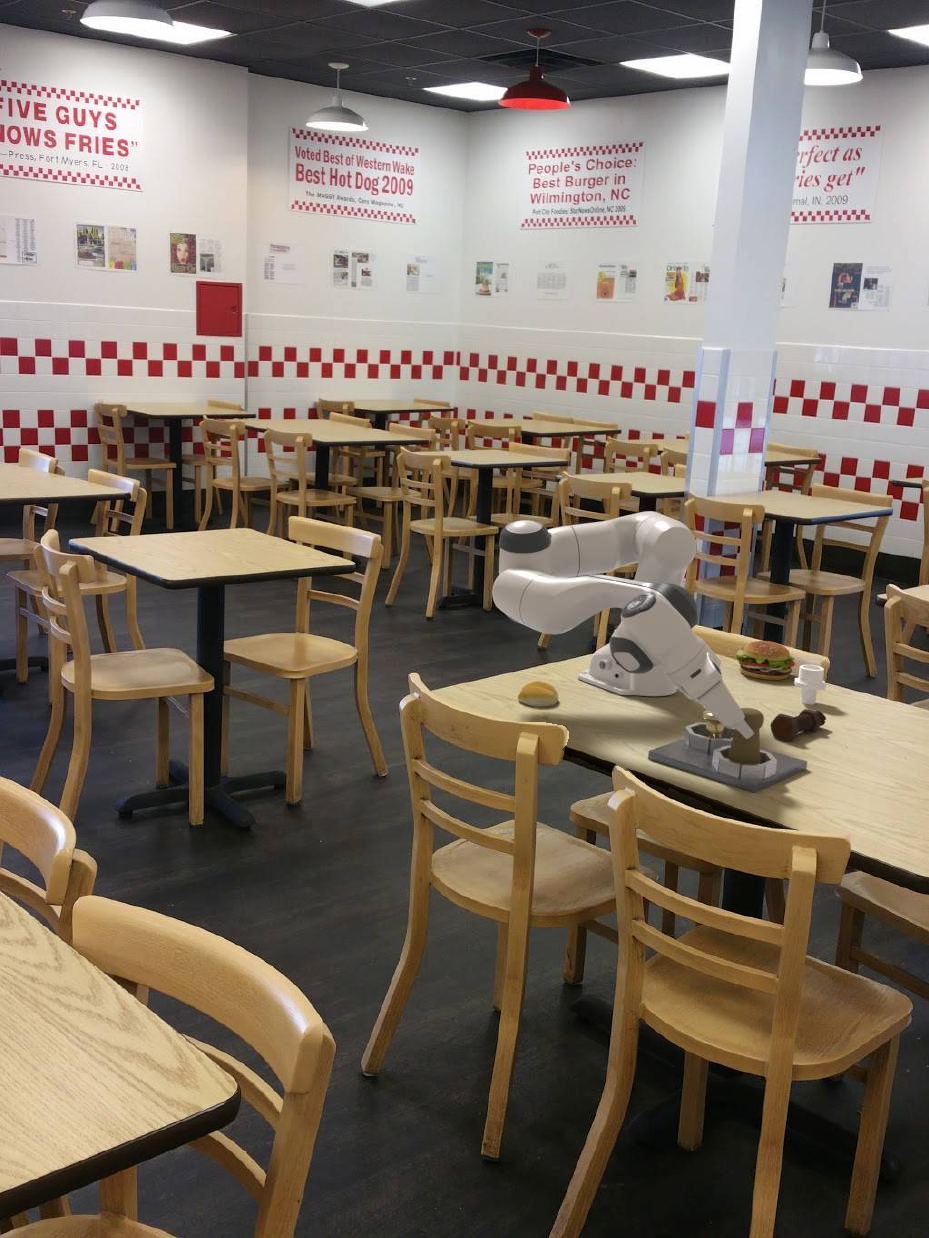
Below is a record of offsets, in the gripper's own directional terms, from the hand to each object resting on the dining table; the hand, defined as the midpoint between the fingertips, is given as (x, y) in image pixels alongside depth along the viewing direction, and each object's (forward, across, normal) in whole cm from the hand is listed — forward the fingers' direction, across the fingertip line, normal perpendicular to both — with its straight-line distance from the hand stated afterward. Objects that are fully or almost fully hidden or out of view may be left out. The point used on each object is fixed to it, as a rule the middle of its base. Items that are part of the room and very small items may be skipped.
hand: (744, 727), depth 210 cm
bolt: (+19, -29, +6) cm, 35 cm away
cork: (+6, 0, -5) cm, 8 cm away
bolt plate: (+6, -7, -7) cm, 12 cm away
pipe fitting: (+24, -53, +11) cm, 59 cm away
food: (+20, -76, +7) cm, 78 cm away
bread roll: (-18, -40, -32) cm, 54 cm away
